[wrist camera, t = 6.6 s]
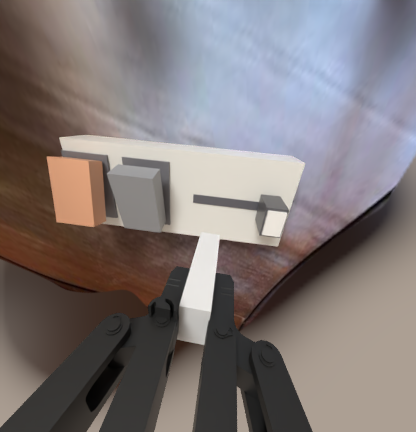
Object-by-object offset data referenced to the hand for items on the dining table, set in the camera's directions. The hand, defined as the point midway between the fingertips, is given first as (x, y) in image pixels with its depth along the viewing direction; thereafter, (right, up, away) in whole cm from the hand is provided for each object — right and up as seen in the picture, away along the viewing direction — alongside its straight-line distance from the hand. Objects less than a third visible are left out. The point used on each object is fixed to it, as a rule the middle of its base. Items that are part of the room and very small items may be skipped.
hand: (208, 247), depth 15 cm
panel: (-4, +8, +14) cm, 17 cm away
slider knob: (+8, +4, +9) cm, 13 cm away
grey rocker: (-8, +5, +8) cm, 13 cm away
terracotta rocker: (-16, +6, +9) cm, 19 cm away
